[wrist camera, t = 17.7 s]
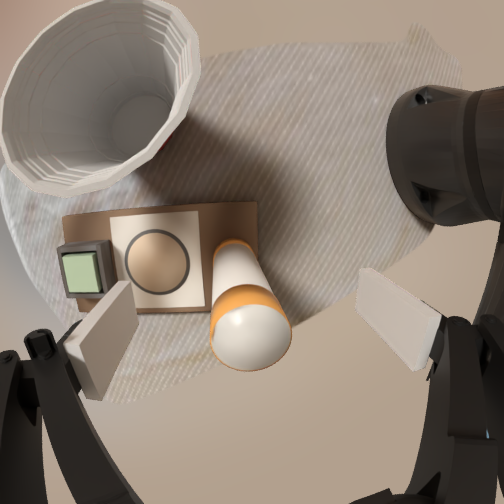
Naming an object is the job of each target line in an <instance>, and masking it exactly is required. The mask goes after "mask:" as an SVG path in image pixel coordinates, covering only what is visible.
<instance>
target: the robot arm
mask: <svg viewBox="0 0 504 504" xmlns="http://www.w3.org/2000/svg"><path fill="white" fill-rule="evenodd" d="M386 151H387V158H388V164H389V168H390V172H391V175H392V178H393V181H394V184H395V186H396V188H397V191H398V193H399V195H400V196H401V198H402V200H403V201H404V203H405V204H406V205H407V207H408V208H409V209H410V210H411V211H412V212H413V213H414V214H415V215H416V216H418V217H419V218H421V219H423V220H425V221H427V222H430V223H434V224H437V225H441V226H457V225H463V224H468V223H473V222H478V221H484V220H494V221H498V222H501V223H500V230H499V236H498V242H497V244H496V249H495V253H494V258H493V262H492V266H491V269H490V273H489V277H488V281H487V284H486V287H485V291H484V293H483V296H482V300H481V303H480V305H479V308H478V311H477V314H476V316H475V319H474V322H473V324H472V325H471V323H470V322H469V321H468V320H467V319H464V318H462V317H458V316H451V317H449V318H447V317H445V316H444V315H442V314H441V313H440V312H438V311H437V310H435V309H433V308H432V307H431V306H428V304H426V303H425V302H424V301H422V300H419V299H418V298H416V297H415V296H413V295H412V294H410V293H409V292H407V291H406V290H404V289H403V288H401V287H400V286H398V285H397V284H395V283H394V282H392V281H391V280H389V279H388V278H386V277H385V276H383V275H381V274H380V273H378V272H377V271H375V270H374V269H372V268H360V271H359V281H358V290H357V298H356V305H355V311H356V312H357V313H358V314H359V315H360V316H361V317H362V318H363V319H364V320H365V321H366V322H367V323H368V324H369V325H370V327H371V328H372V329H373V330H374V331H375V332H376V333H377V334H378V335H379V336H380V337H381V338H382V339H383V340H384V341H385V342H386V343H387V344H388V346H390V348H391V349H392V350H393V351H394V352H395V353H396V354H397V355H398V356H399V357H400V358H401V360H402V361H403V362H404V363H405V364H406V365H407V366H408V367H409V368H410V369H411V370H412V371H413V372H414V371H417V370H420V369H423V368H425V367H426V364H427V361H428V358H429V357H430V358H431V359H433V361H434V362H433V364H432V367H431V369H430V372H429V374H428V377H427V379H426V380H427V381H428V380H429V378H430V385H429V395H428V403H427V410H426V416H425V422H424V428H423V433H422V438H421V443H420V448H419V452H418V456H417V460H416V464H415V468H414V472H413V475H412V478H411V481H410V484H409V486H408V488H407V490H406V491H405V493H404V494H397V495H396V494H395V495H392V493H391V491H390V489H389V488H388V489H385V490H383V491H381V492H378V493H375V494H373V495H370V496H367V497H364V498H361V499H359V500H356V501H353V502H351V503H350V504H495V498H496V489H497V475H498V479H499V484H500V488H501V491H502V494H503V497H504V86H502V87H496V88H491V89H486V90H480V91H474V92H472V91H467V90H462V89H456V88H450V87H444V86H437V85H426V86H422V87H419V88H416V89H413V90H410V91H408V92H406V93H404V94H403V95H402V96H401V97H400V98H399V99H398V100H397V101H396V103H395V104H394V106H393V108H392V110H391V113H390V116H389V119H388V124H387V131H386ZM138 325H139V321H138V317H137V312H136V307H135V302H134V296H133V291H132V285H131V281H118V282H117V283H116V284H115V285H114V286H113V287H112V288H111V289H110V291H109V292H108V293H107V294H106V295H105V296H104V297H103V298H102V299H101V300H100V301H99V302H98V304H97V305H96V306H95V307H94V308H93V309H92V310H91V311H90V312H89V314H88V315H87V316H86V317H85V318H84V319H83V320H82V319H81V320H79V321H78V322H76V323H75V324H73V325H72V326H71V327H70V329H69V330H68V331H67V332H66V333H65V334H64V336H63V337H62V338H61V339H60V340H59V341H58V342H57V344H56V342H55V340H54V337H53V334H52V332H51V331H50V330H48V329H38V330H35V331H32V332H31V333H29V334H28V335H27V336H26V337H25V338H24V343H25V346H26V348H27V350H28V353H29V355H30V358H31V360H20V357H19V355H18V353H17V352H16V351H14V350H8V351H3V352H1V353H0V504H48V500H47V495H46V487H45V479H44V469H43V454H42V415H43V419H44V422H45V426H46V429H47V432H48V436H49V439H50V442H51V445H52V448H53V451H54V453H55V456H56V459H57V461H58V464H59V466H60V469H61V471H62V474H63V476H64V478H65V481H66V483H67V485H68V487H69V489H70V491H71V493H72V496H73V497H74V499H75V502H76V503H77V504H144V503H143V502H142V500H141V499H140V498H139V497H138V495H137V494H136V493H135V492H134V490H133V489H132V487H131V486H130V485H129V483H128V482H127V480H126V479H125V478H124V476H123V475H122V473H121V472H120V471H119V469H118V467H117V466H116V464H115V462H114V461H113V459H112V458H111V456H110V455H109V453H108V451H107V450H106V448H105V446H104V445H103V443H102V441H101V439H100V437H99V436H98V434H97V432H96V430H95V428H94V426H93V425H92V422H91V420H90V418H89V416H88V415H87V412H86V410H85V408H84V407H83V404H82V402H81V400H80V398H79V396H78V393H79V392H80V390H81V388H82V391H83V393H84V394H85V397H86V399H92V400H98V401H102V399H103V397H104V395H105V393H106V391H107V388H108V386H109V384H110V382H111V380H112V378H113V376H114V373H115V371H116V369H117V367H118V365H119V363H120V361H121V359H122V357H123V355H124V353H125V351H126V349H127V347H128V345H129V343H130V341H131V339H132V337H133V335H134V333H135V331H136V329H137V327H138Z"/></svg>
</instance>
